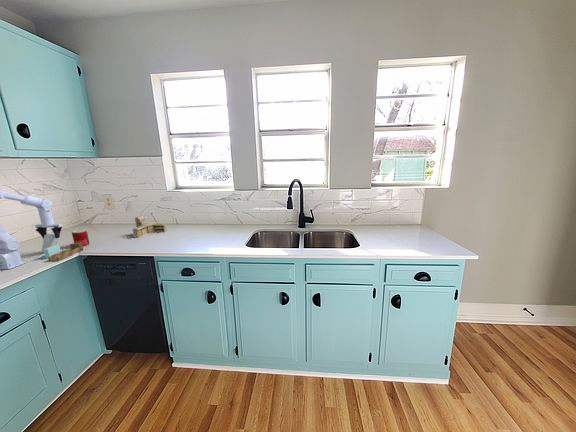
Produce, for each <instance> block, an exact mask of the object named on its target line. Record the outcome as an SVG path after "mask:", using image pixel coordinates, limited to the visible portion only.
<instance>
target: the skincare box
mask: <svg viewBox="0 0 576 432" xmlns="http://www.w3.org/2000/svg"><path fill="white" fill-rule="evenodd" d="M58 239H59V238H55V235H54V232H53V231H51V232H47V234H46V235H44V239H43V240H42V246H41V251H42V252H44V249H46V248H49V247H52V246H54V245H58V242H59V240H58Z"/></svg>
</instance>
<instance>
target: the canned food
mask: <svg viewBox="0 0 576 432" xmlns="http://www.w3.org/2000/svg"><path fill="white" fill-rule="evenodd" d="M71 235H72V240H73V243H82V247H83V248H84V247H87V245H88V246H89V245H90V239H89V234H88V230H87V229H86V228H82V229H80V228H79V229H75V230H73V231H71Z"/></svg>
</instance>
